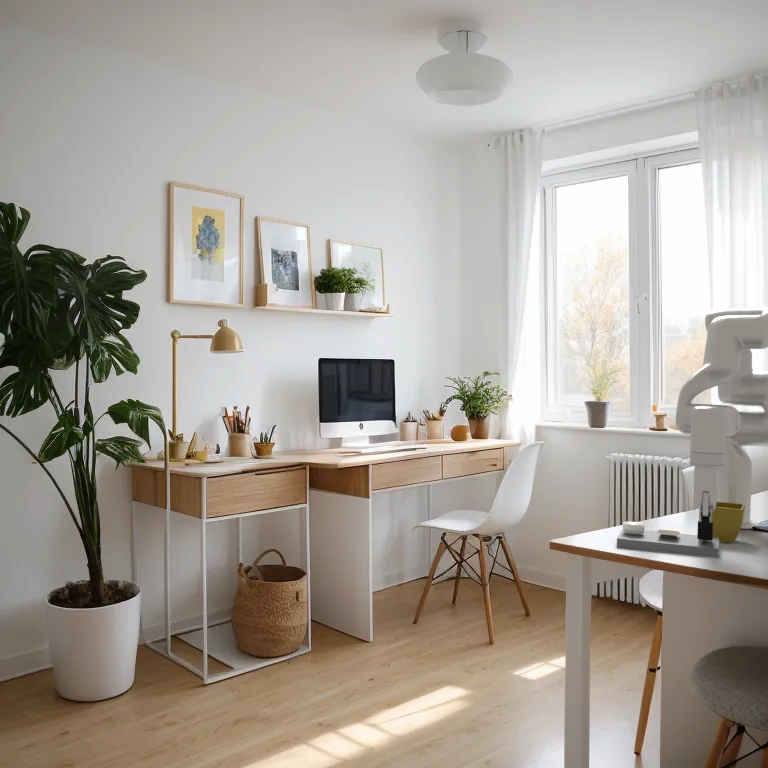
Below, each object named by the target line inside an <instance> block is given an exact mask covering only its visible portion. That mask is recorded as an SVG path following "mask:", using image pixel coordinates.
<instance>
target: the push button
mask: <svg viewBox="0 0 768 768" xmlns="http://www.w3.org/2000/svg"><path fill="white" fill-rule="evenodd" d="M645 526H646V524H645V523H642V522H638V521H623V522H622V530H623V532H625V533H630V534H644V530H645Z"/></svg>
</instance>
